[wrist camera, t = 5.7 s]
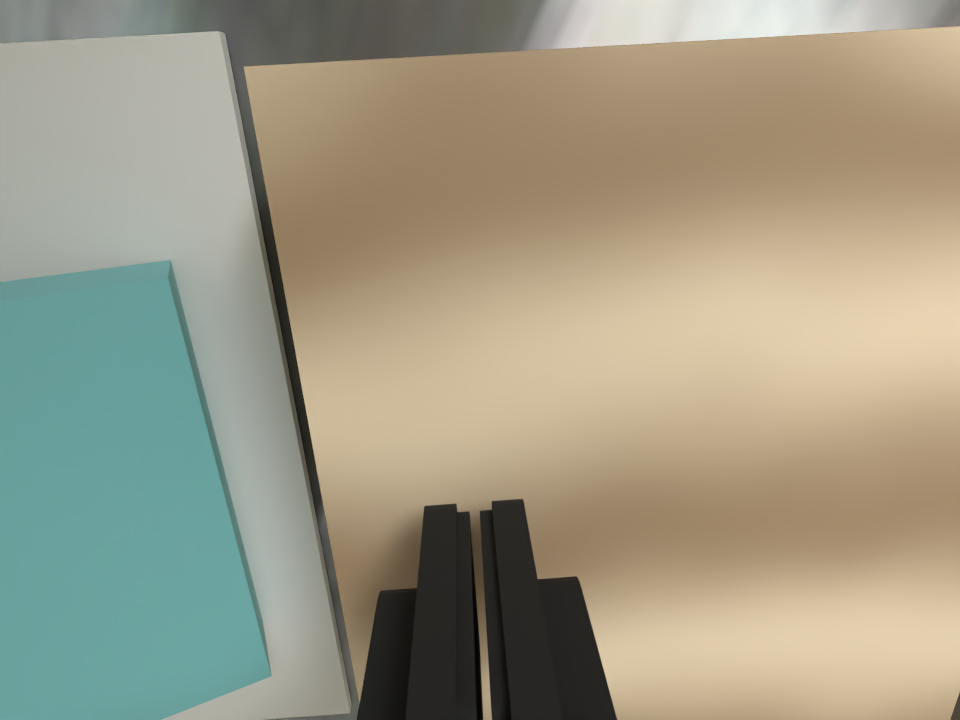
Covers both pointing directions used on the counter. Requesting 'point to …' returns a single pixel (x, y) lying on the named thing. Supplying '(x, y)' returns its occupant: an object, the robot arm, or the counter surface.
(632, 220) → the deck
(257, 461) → the mat
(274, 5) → the counter surface
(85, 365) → the teal sticky note pad
